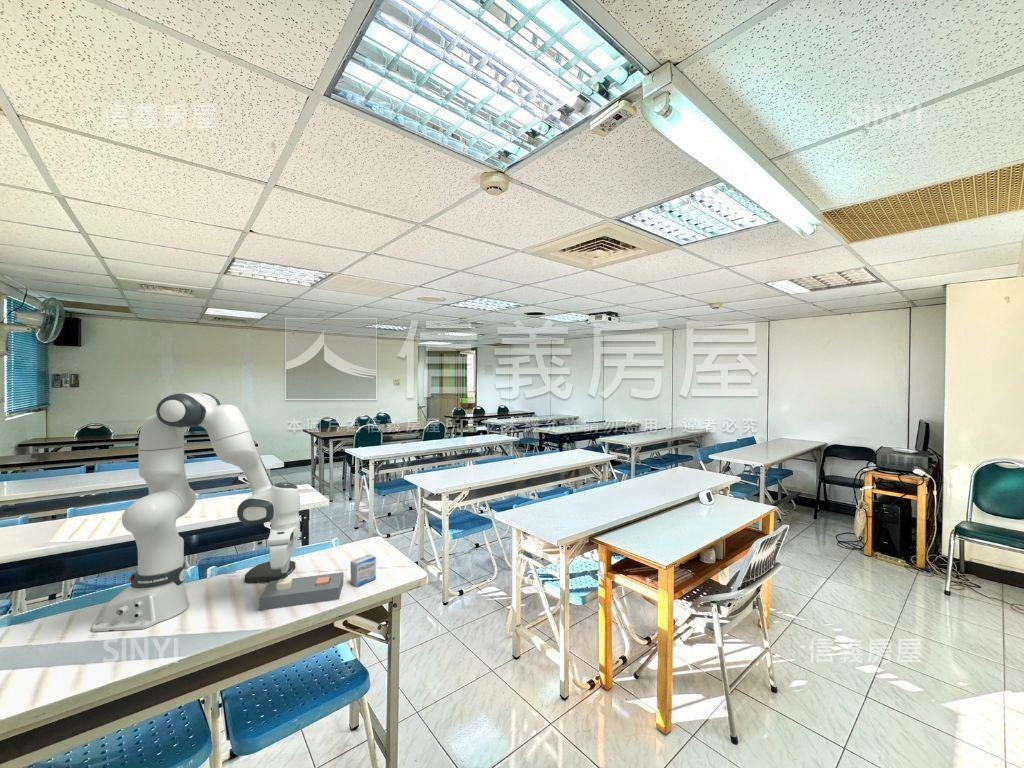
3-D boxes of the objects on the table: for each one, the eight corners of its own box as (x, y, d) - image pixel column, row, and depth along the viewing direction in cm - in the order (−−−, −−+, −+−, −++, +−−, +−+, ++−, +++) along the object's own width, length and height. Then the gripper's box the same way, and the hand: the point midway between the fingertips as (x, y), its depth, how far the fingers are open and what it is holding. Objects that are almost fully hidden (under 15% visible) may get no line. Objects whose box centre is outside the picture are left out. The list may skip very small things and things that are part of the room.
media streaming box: (261, 567, 160) (261, 560, 160) (299, 566, 161) (299, 558, 161) (239, 585, 145) (239, 576, 145) (280, 583, 146) (280, 575, 146)
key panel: (258, 610, 127) (258, 598, 127) (270, 592, 139) (270, 581, 139) (338, 599, 134) (339, 587, 134) (343, 583, 146) (343, 572, 146)
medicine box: (356, 587, 142) (357, 563, 142) (350, 584, 145) (350, 560, 145) (376, 579, 148) (376, 556, 149) (369, 576, 151) (369, 553, 151)
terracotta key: (315, 592, 136) (315, 583, 136) (317, 586, 139) (317, 578, 140) (328, 590, 137) (328, 581, 137) (329, 584, 141) (330, 576, 141)
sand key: (276, 593, 132) (276, 584, 132) (279, 587, 136) (279, 579, 136) (289, 591, 133) (289, 582, 133) (292, 586, 137) (292, 577, 137)
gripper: (283, 521, 144) (283, 559, 144) (265, 542, 125) (265, 586, 124) (302, 520, 146) (302, 557, 146) (288, 540, 126) (287, 583, 126)
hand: (285, 571), depth 135 cm, fingers closed
